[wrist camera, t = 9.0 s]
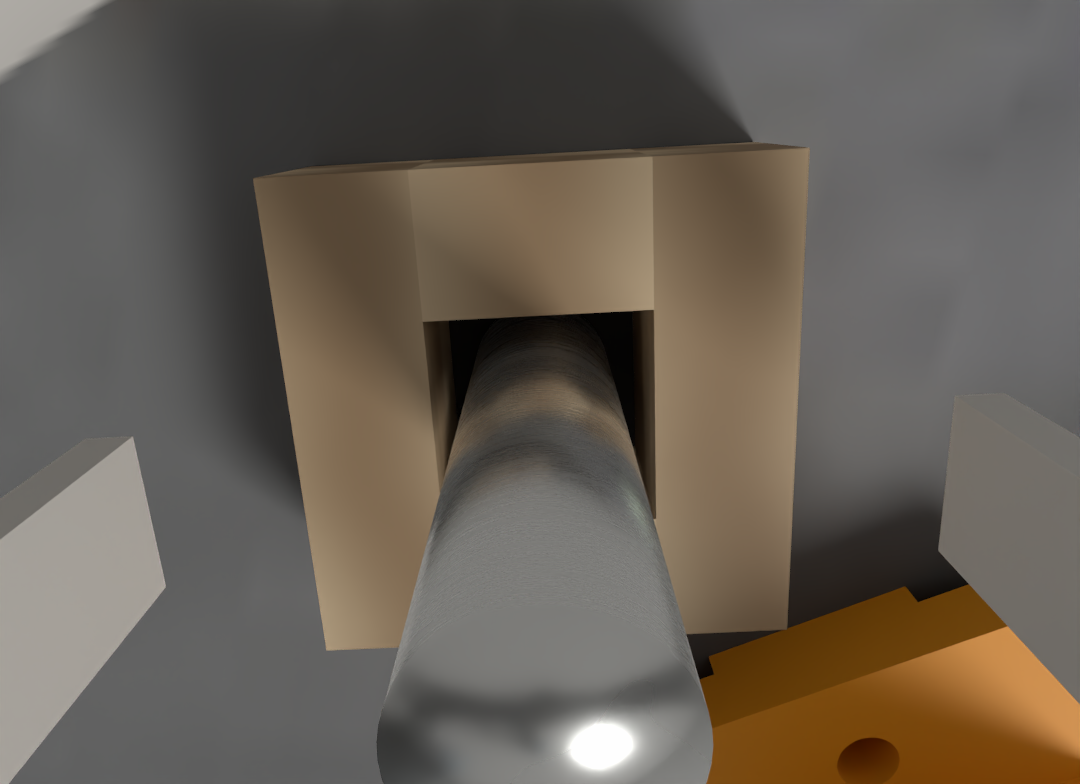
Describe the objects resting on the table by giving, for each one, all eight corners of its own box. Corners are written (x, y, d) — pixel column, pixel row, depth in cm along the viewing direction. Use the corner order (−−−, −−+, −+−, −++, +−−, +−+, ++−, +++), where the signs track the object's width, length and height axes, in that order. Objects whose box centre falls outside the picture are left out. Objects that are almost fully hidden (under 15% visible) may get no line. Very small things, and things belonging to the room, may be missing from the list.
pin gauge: (480, 431, 21) (396, 888, 8) (470, 305, 20) (356, 615, 7) (608, 424, 21) (711, 875, 8) (605, 299, 20) (715, 598, 7)
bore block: (363, 558, 22) (326, 650, 18) (311, 166, 19) (252, 178, 15) (744, 540, 22) (786, 629, 18) (754, 141, 19) (809, 148, 15)
